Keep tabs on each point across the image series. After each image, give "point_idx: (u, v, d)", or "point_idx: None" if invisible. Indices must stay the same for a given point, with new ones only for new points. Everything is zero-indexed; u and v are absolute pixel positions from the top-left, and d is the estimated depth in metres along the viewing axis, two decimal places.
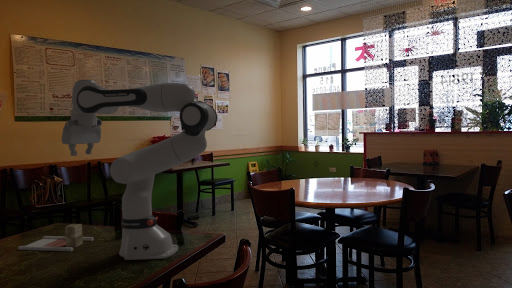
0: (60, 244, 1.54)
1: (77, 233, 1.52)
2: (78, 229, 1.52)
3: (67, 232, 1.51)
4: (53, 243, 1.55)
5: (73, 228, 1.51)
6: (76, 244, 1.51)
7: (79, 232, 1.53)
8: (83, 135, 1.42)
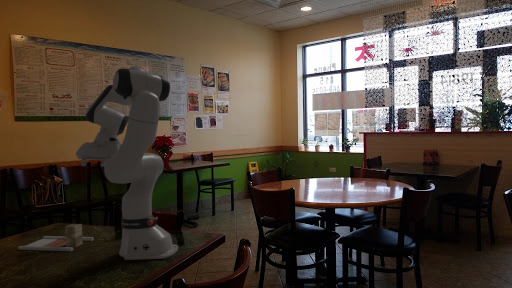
0: (60, 244, 1.54)
1: (77, 233, 1.52)
2: (78, 229, 1.52)
3: (67, 232, 1.51)
4: (53, 243, 1.55)
5: (73, 228, 1.51)
6: (76, 244, 1.51)
7: (79, 232, 1.53)
8: (93, 149, 1.68)
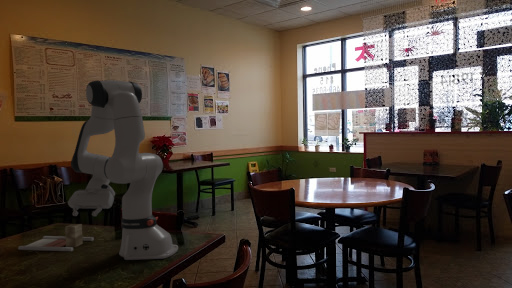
0: (60, 244, 1.54)
1: (77, 233, 1.52)
2: (78, 229, 1.52)
3: (67, 232, 1.51)
4: (53, 243, 1.55)
5: (73, 228, 1.51)
6: (76, 244, 1.51)
7: (79, 232, 1.53)
8: (85, 198, 1.65)
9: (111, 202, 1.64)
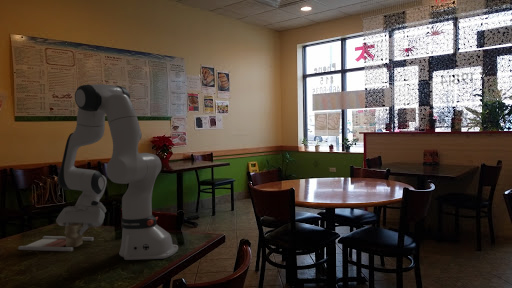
0: (60, 244, 1.54)
1: None
2: (78, 229, 1.52)
3: (67, 232, 1.51)
4: (53, 243, 1.55)
5: (73, 228, 1.51)
6: (76, 244, 1.51)
7: None
8: (74, 215, 1.57)
9: (101, 220, 1.57)
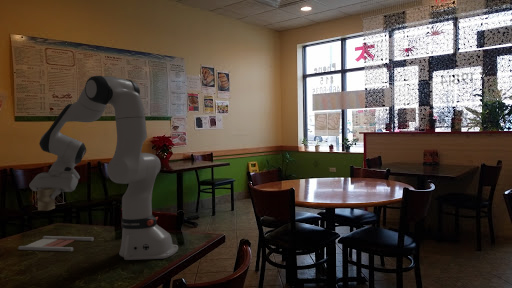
0: (60, 244, 1.54)
1: None
2: (50, 193, 1.54)
3: (39, 196, 1.53)
4: (53, 243, 1.55)
5: (45, 192, 1.52)
6: (48, 208, 1.53)
7: None
8: (47, 180, 1.58)
9: (74, 185, 1.58)
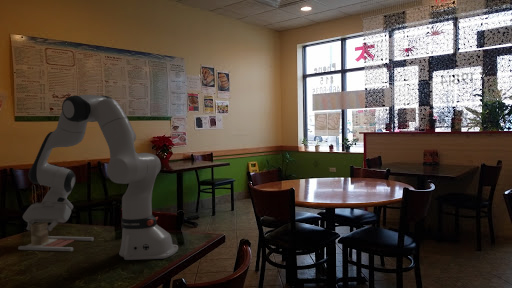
0: (60, 244, 1.54)
1: (42, 231, 1.54)
2: (43, 227, 1.55)
3: (32, 230, 1.53)
4: (53, 243, 1.55)
5: (38, 226, 1.53)
6: (41, 242, 1.54)
7: (45, 230, 1.56)
8: (41, 211, 1.59)
9: (67, 216, 1.59)
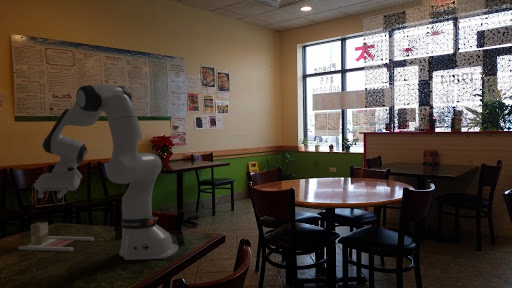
0: (60, 244, 1.54)
1: (42, 231, 1.54)
2: (43, 227, 1.55)
3: (32, 230, 1.53)
4: (53, 243, 1.55)
5: (38, 226, 1.53)
6: (41, 242, 1.54)
7: (45, 230, 1.56)
8: (51, 180, 1.66)
9: (77, 184, 1.66)
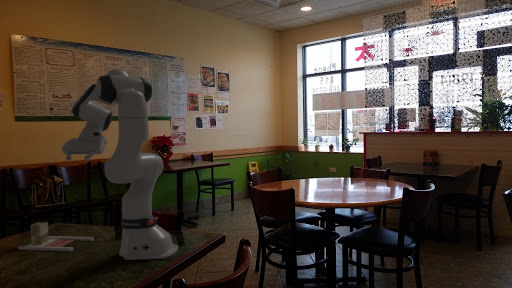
0: (60, 244, 1.54)
1: (42, 231, 1.54)
2: (43, 227, 1.55)
3: (32, 230, 1.53)
4: (53, 243, 1.55)
5: (38, 226, 1.53)
6: (41, 242, 1.54)
7: (45, 230, 1.56)
8: (78, 144, 1.73)
9: (103, 148, 1.72)
